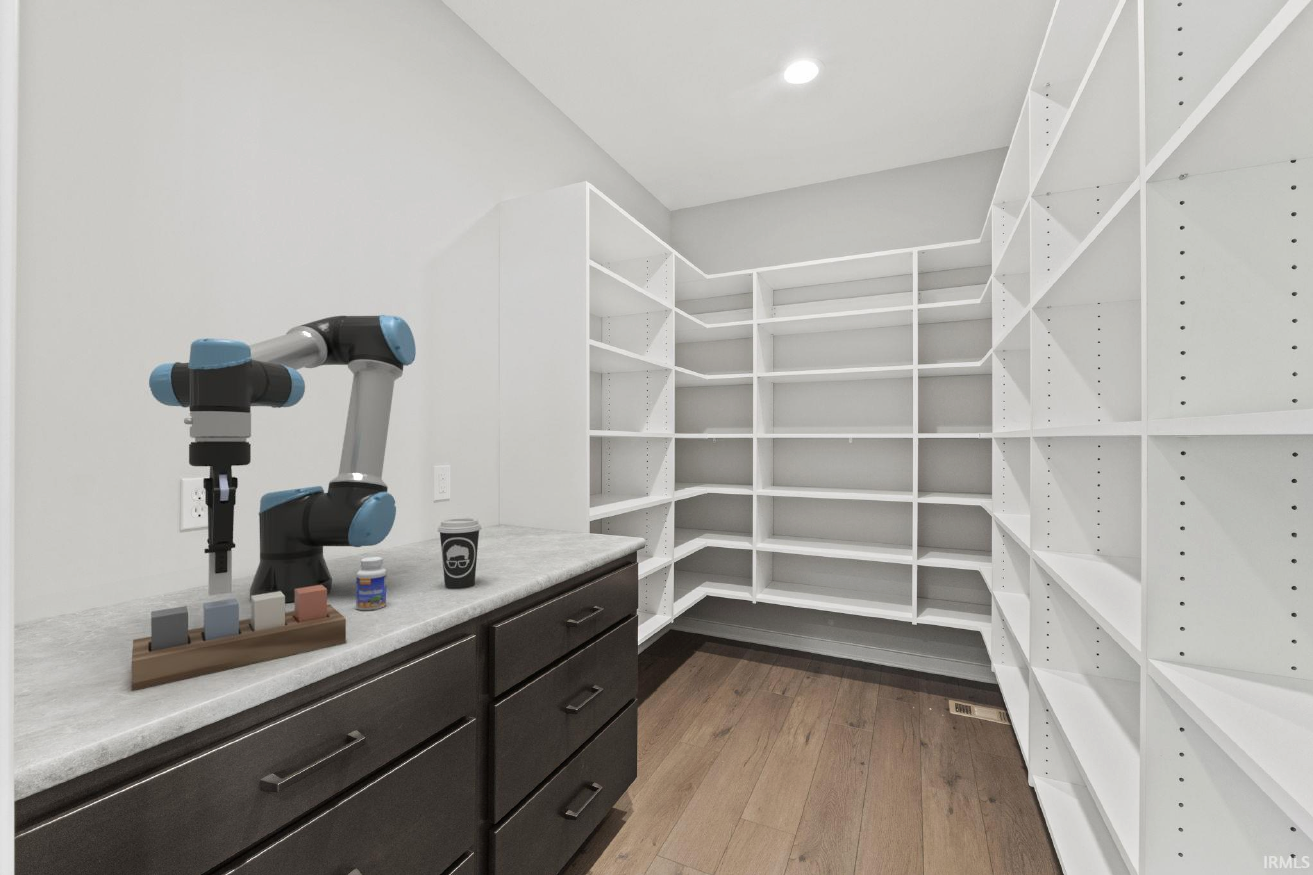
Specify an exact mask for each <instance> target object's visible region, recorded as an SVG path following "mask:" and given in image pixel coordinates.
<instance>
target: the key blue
mask: <svg viewBox="0 0 1313 875" xmlns="http://www.w3.org/2000/svg"><path fill="white" fill-rule="evenodd" d="M239 607H240V604H239V601H238V600H237V598H230V599H229V598H228V599H222V600H215V601H208V602H204V603H203V627H204V639H205V641H207V640H212V639H217V638H223V637H228V636H233V635H238V634H239V621H240V615H239V614H240V611H239V610H240V608H239Z"/></svg>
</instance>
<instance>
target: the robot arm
mask: <svg viewBox="0 0 1313 875" xmlns="http://www.w3.org/2000/svg"><path fill="white" fill-rule="evenodd" d="M189 351H190V352H189V360H188V362H181V361H179V362H178V361H175V362H171V363H162V364H160V365H157V366H156V367H155V368H154V369H153V370H152V372H151V373H150V376H149V379H148V385H149V386H148V387H149V389H150V392H151V395H152V396H153V398H155V400H156V401H157V402H159V403H160V404H163V405H164V406H165V405H166V406H168V407H169V406H170V407H182V408H189V416H190V417H185V418H184V420H183V423H184V424H185V425H191V426H189V437H190V438H192V439H194V441H191V442H190V443H189V444H188V464H189V465H190V466H192V467H209V477H203V478H202V479H203V480H202V481H203V484H202V486H203V489H204V490H205V496H204V497H205V500H204V501H205V505H206V506H207V533H208V536H207V540H206V541H207V544H208V546H207V548H204V554H208V595H209V596H217V595H222V594H223V595H224V594H230V593H233V592H232V590H233V589H232V582H233V580H232V579H233V578H232V577H233V576H232V575H233V574H232V572H233V571H232V570H233V569H232V568H233V566H232V565H233V561H232V560H233V552H232V551H233V550H232V549H234V548H236V543H234V518H235V505H236V501H237V496H236V493H237V488H238V486H239V483H238V482H239V480H238V479H239V478H238V477H236V476H233V472H232V471H233V469H232V466H234V467H235V466H236V467H237V466H238V467H240V466H247V465H249V464H250V463H251V461H252V459H251V458H252V457H251V456H252V453H251V451H252V450H251V443H250V442H249V441H247V439H249V438H251V437H252V412H251V409H252V408H251V407H270V408H272V409H273V408H274V409H275V408H276V409H277V408H278V409H280V408H290V407H293V406H295V405H297V404H298V403H299V402H300V401H301V400H302V398H303V397H304V395H305V392H306V385H305V380H304V377H303V376H302V374H301V373H300V371H298V370H300V369H302V368H305V369H314V368H318V367H321V366H334V365H335V366H336V365H337V366H338V365H339V366H347V368H348V370H349V371H350V372H352V374H353V378H352V383H351V384H352V385H351V390H350V398H349V405H348V410H347V418H346V424H345V430H344V436H343V443H342V450H341V454H340V455H341V457H340V462H339V469H338V475H337V476H336V477H334V478H333V479H332V480H330V481H329V483H328V488H327V492H325V489H324V488H323V486H321V485H317V486H309V487H303V488H295V489H286V490H280V491H279V490H278V491H271V492H268V493H264V494H263V495H262V496H261V497H260V502H259V512H258V516H259V563H258V566H257V569H256V571H255V574H254V577H253V581H252V582H251V585H250V588H249V601H251V596H253V595H259V594H266V593H272V592H278V591H281V592H282V593H283V595H284V596H285V603H291V602H295V589H297V588H304V587H310V586H316V585H323V586H324V587H325V588H326V589H327V594H328V593H329V592H331V591H332V590H333V579H332V578H333V577H332V575H331V572H330V570H329V567H328V565H327V564H328V563H326V559H325V557H324V547H354V548H360V547H369V546H370V547H371V546H377V545H378V544H380V543H381V542H383V541H384V540H385V539H386V537H387V536H388V535H389V533H390V532H391V531H392V528H393V526H394V523H395V519H396V515H397V506H396V499H395V498H394V496H393V495H392V494H391V493H389V492H388V488H389V487H388V485H387V484H386V483H385V481H384V480H383V478H382V476H383V470H384V463H385V455H386V447H387V440H388V432H389V425H390V418H391V411H392V402H393V397H394V396H393V394H394V388H395V381H396V380H398V379H399V378H401V377H402V376H403V374H404V373H403V372H404V367H406V366H410V365H412V364H413V362H414V361H415V359H416V356H417V355H416V354H417V352H416V342H415V338H414V334H413V331H412V330H411V327H410V326H409V324H408V323H407V322H406V320H405V319H404V318H402V317H401V316H397V315H385V314H380V315H334V316H330V317H325V318H321V319H318V320H313V321H311V322H308V323H305V324H301V325H297V326H293V327H292V328H290V329H289V330H288V331H287V332H286V334H284V335H281V336H280V335H279V336H277V337H274V338H269V339H265V340H263V341H260V342H257V343H254V344H249V345H248V344H247V343H245V342H243V341H240V340H232V339H225V338H198V339H196V340H194V341H192V342H191V344H190V350H189Z"/></svg>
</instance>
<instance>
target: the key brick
mask: <svg viewBox="0 0 1313 875" xmlns="http://www.w3.org/2000/svg"><path fill="white" fill-rule="evenodd" d="M327 605H328V593H327V589H326V588H325V587H324V586H323V585H316V586H310V587H304V588H297V589H295V601H294V611H295V619H296V621H297V622H298V623H300V622H305V621H311V620H316V619H321V618H326V617H327Z"/></svg>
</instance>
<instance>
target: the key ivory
mask: <svg viewBox="0 0 1313 875" xmlns="http://www.w3.org/2000/svg"><path fill="white" fill-rule="evenodd" d="M250 610H251V611H250V615H251V616H250V619H251V627H252V629H253V631H259V630H264V629H269V628H274V627H280V626H285V612H286V602H285V596H284V595H283V593H282V592H281V591H278V592H272V593H266V594H259V595H253V596H251V600H250Z"/></svg>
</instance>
